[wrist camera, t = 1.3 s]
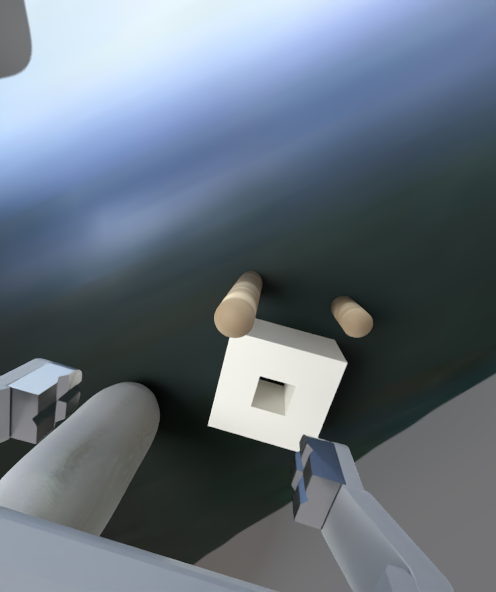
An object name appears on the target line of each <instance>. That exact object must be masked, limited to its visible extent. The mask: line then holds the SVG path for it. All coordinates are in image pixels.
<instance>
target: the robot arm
mask: <svg viewBox="0 0 496 592" xmlns="http://www.w3.org/2000/svg"><path fill="white" fill-rule="evenodd" d="M81 381H82V372H81V371H80V370H78V369H75V368H72V367H68V366H65V365H62V364H59V363H56V362H52V361H48V360H45V359H42V358H37V359H34V360H32V361H30V362H28V363H26V364H24V365H22V366H20V367H18V368H16V369H14V370H12V371H10V372H8V373H6V374H4V375H2V376H0V443H1V442H3V441H5V440H8V439H9V437H11V438H15V439H19V440H23V441H26V442H30V443H34V444H37V443H38V442H39V441H40V440H41V439H42V438H43V437H45V436H46V435H47V434H48V433H49V432H50V431H52V430H53V429H54V426H55V422H57V421H60V420H63V419H65V418H66V417H67V416H68V415H70V414H71V413H72V411H73V410H74V408H75V407H76V406H77V404H78V401H79V398H80V390H79V388H78V386H77V384H78V383H79V382H81ZM299 447H300V451H298V452H297V453H295V456H294V459H293V462H292V468H291V485H292V487H293V488H294V490H295V493H294V495H293V498H292V501H293V513H294V521H296V522H299V523H302V524H305V525H308V526H311V527H314V528H317V529H320V530H322V531H321V532H322V534H323V536H324V538H325V540H326V542H327V544H328V546H329V547H330V549H331V551H332V553H333V555H334V557H335V559H336V561H337V563H338V564H339V566H340V568H341V570H342V572H343V574H344V576H345V577H346V580H347V581H348V583H349V585H350V587H351V589H352V591H353V592H454V590H453V588H452V586H451V584H450V583H449V581H448V580H447V579H446V578H445V576H444V575H443V574H442V573H441V572H440V571H439V570H438V569H437V567H436V566H435V565H434V564H433V563H432V562H431V561H430V560H429V559H428V557H427V556H426V555H425V554H424V553H423V552H422V551H421V550H420V549H419V547H418V546H417V545H416V544H415V543H414V542H413V541H412V540H411V538H410V537H409V536H408V535H407V534H406V533H405V532H404V531H403V529H402V528H401V527H400V526H399V525H398V524H397V523H396V522H395V521H394V519H393V518H392V517H391V516H390V515H389V514H388V513H387V512H386V511H385V509H384V508H383V507H382V506H381V505H380V504H379V503H378V502H377V500H376V499H375V498H374V497H373V496H372V495H371V494H370V493H369V492H367V491H364V488H363V485H362V483H361V480H360V477H359V475H358V472H357V469H356V466H355V464H354V461H353V458H352V455H351V453H350V450H349V448H348V447H347V446H346V445H343V444H339V443H335V442H330V441H326V440H323V439H319V438H316V437H312V436H308V435H305V434H303V436H302V437H301V439H300V442H299ZM0 592H278V591H275V590H272V589H269V588H266V587H262V586H259V585H256V584H253V583H249V582H246V581H243V580H239V579H236V578H233V577H230V576H226V575H223V574H220V573H217V572H213V571H210V570H206V569H204V568H200V567H197V566H194V565H190V564H187V563H184V562H181V561H177V560H174V559H171V558H168V557H164V556H161V555H158V554H154V553H151V552H148V551H145V550H142V549H138V548H135V547H132V546H129V545H125V544H122V543H119V542H116V541H113V540H109V539H106V538H103V537H100V536H96V535H93V534H90V533H87V532H83V531H80V530H77V529H74V528H71V527H67V526H64V525H61V524H58V523H54V522H51V521H48V520H45V519H42V518H38V517H35V516H32V515H29V514H25V513H22V512H19V511H16V510H12V509H9V508H6V507H3V506H0Z"/></svg>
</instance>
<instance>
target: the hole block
mask: <svg viewBox="0 0 496 592" xmlns="http://www.w3.org/2000/svg"><path fill="white" fill-rule="evenodd" d="M346 365H347V361H346V360H345V358H344V356H343V354H342V352H341V350H340V349H339V347H338V345H337V343H336V341H335V340H333V339H329V338H326V337H322V336H318V335H315V334H311V333H307V332H304V331H300V330H296V329H293V328H289V327H285V326H282V325H278V324H274V323H271V322H267V321H263V320H260V319H256V318H255V320H254V325H253V327H252V329H251V331H250V332H249V333H248V334H247V335H245V336H243V337H240V338H230V339H229V343H228V347H227V351H226V355H225V359H224V363H223V367H222V371H221V375H220V379H219V383H218V387H217V391H216V394H215V398H214V402H213V406H212V410H211V414H210V418H209V422H208V426H210V427H214V428H217V429H221V430H224V431H228V432H231V433H234V434H238V435H241V436H245V437H248V438H252V439H255V440H259V441H262V442H266V443H269V444H272V445H276V446H279V447H283V448H286V449H290V450H293V451H297V452H298V451H300V447H299V442H300V439H301V437H302V436H303V434H305V435H308V436H312V437H316V438H318V435H319V433H320V430H321V428H322V425H323V423H324V420H325V418H326V415H327V413H328V410H329V408H330V405H331V403H332V400H333V398H334V395H335V393H336V390H337V388H338V385H339V383H340V380H341V378H342V375H343V373H344V370H345V368H346ZM260 376H262V377H265V378H269V379H272V380H276V381H279V382H283V383H285V384H284V386H282V385H278V384H274V383H271V382H267V381H264V380H260V379H259V378H260Z"/></svg>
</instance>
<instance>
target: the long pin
mask: <svg viewBox="0 0 496 592" xmlns="http://www.w3.org/2000/svg"><path fill="white" fill-rule="evenodd" d="M262 284H263V281H262V278H261V276H260V275H259V274H258V273H257V272H254V271H247V272H245V273H243V274H242V275H241V277H240V278H239V280H238V281H237V282H236V284H235V285H234V286H233V288H232V289H231V290H230V292H229V293H228V294H227V296H226V297H225V298H224V300H223V301H222V302H221V304H220V305H219V307H218V308H217V310H216V312H215V316H214V321H215V325H216V327H217V329H218V330H219V331H220V332H221V333H222V334H223V335H225V336H227V337H230V338H240V337H243V336H245V335H247V334H248V333H249V332H250V331H251V329H252V327H253V325H254V320H255V316H256V311H257V307H258V302H259V298H260V293H261V289H262Z"/></svg>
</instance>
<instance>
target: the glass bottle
mask: <svg viewBox="0 0 496 592" xmlns="http://www.w3.org/2000/svg"><path fill="white" fill-rule="evenodd" d="M159 420H160V411H159V406H158V403H157V400H156V398H155V396H154V394H153V393H152V392H151V390H149V389H148V388H147V387H145V386H144V385H142V384H139V383H134V382H123V383H119V384H116V385H113V386H110V387H108V388H105V389H103V390H102V391H100V392H98V393H97V394H95V395H94V396H93V397H92V398H90V399H89V400H88V401H87V402H86V403H85V404H83V405H82V406H81V407H80V408H79V409H78V410H77V411H76V412H75V413H73V414H72V415H71V416H70V417H69V418H68V419H67V420H66V421H65V422H63V423H62V424H61V425H60V426H59V427H57V428H56V429H55V430H54V431H53V432H52V433H50V434H49V435H48V436H47V437H46V438H44V439H43V440H42V441H41V442H40V443H39V444H38V445H37V446H35V447H34V448H33V449H32V450H31V451H30V452H29V453H28V454H26V455H25V456H24V457H23V458H22V459H21V460H20V461H19V462H18V463H17V464H16V465H15V466H14V467H13V468H12V469H11V470H10V471H9V472H8V473H7V474H6V475H5V476H4V477H3V478H2V479H1V480H0V506H3V507H6V508H9V509H12V510H16V511H19V512H22V513H25V514H29V515H32V516H35V517H38V518H42V519H45V520H48V521H51V522H54V523H58V524H61V525H64V526H67V527H71V528H74V529H77V530H80V531H83V532H87V533H90V534H93V535H96V536H100V534H101V533H102V531H103V529H104V528H105V526H106V524H107V523H108V521H109V519H110V518H111V516H112V514H113V512H114V511H115V509H116V507H117V505H118V504H119V502H120V500H121V498H122V496H123V495H124V493H125V491H126V489H127V487H128V485H129V483H130V482H131V480H132V478H133V476H134V474H135V472H136V470H137V469H138V467H139V465H140V464H141V462H142V460H143V458H144V456H145V455H146V453H147V451H148V449H149V448H150V446H151V444H152V442H153V439H154V437H155V435H156V432H157V429H158V425H159Z"/></svg>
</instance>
